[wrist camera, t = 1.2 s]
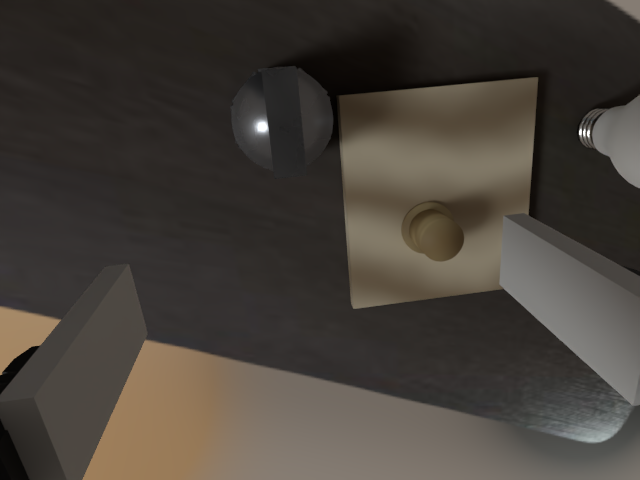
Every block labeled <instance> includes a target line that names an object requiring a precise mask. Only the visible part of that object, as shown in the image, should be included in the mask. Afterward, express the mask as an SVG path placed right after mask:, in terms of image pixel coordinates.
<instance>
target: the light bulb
mask: <svg viewBox="0 0 640 480" xmlns="http://www.w3.org/2000/svg"><path fill="white" fill-rule="evenodd" d="M577 136H578V140H579V141H580V142H581V143H582V144H583V146H584V147H587V148H589V149H594V150H598V151H599V152H601V153H603V154H604V155H607V156H610V158H611V161H612V163H613V164H614V166H615V168H616V169H617V171H618V173H619V174H620V175H621V176H622V177H623V178H624V179H626V180H627V181H628V182H629V183H631V184H632V185H634V186H636V187H638V188H640V95H639V96H637V97H636V98H635V99H633V100H632V101H631V102H630V103H628V104H627V105H626V106H617V107H614V108H595V109H593V110H591V111H589V112H588V113H587V114H586V115H585V116H584V117H583V118H582V119H581V121H580V123H579V125H578V129H577Z"/></svg>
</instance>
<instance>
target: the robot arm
mask: <svg viewBox="0 0 640 480" xmlns="http://www.w3.org/2000/svg"><path fill="white" fill-rule="evenodd" d="M499 285H500V286H502V287H503V288H504V289H505V290H506V291H507V292H508V293H509V294H510V295H512V296H513V297H514V298H515V299H516V300H517V301H518V302H519V303H520V304H521V305H523V306H524V307H525V308H526V309H527V310H528V311H529V312H530V313H531V314H532V315H534V316H535V317H536V318H537V319H538V320H539V321H540V322H541V323H542V324H543V325H545V326H546V327H547V328H548V329H549V330H550V331H551V332H552V333H553V334H555V335H556V336H557V337H558V338H559V339H560V340H561V341H562V342H563V343H564V344H566V345H567V346H568V347H569V348H570V349H571V350H572V351H573V352H574V353H575V354H577V355H578V356H579V357H580V358H581V359H582V360H583V361H584V362H585V363H586V364H588V365H589V366H590V367H591V368H592V369H593V370H594V371H595V372H596V373H598V374H599V375H600V376H601V377H602V378H603V379H604V380H605V381H606V382H607V383H609V384H610V385H611V386H612V387H613V388H614V389H615V390H616V391H617V392H618V393H620V394H621V395H622V396H623V397H624V398H625V399H626V400H627V401H628V402H629V403H631V404H632V405H633V406H635V405H640V272H639V271H637V270H634V269H631V268H628V267H624V266H621V265H618V264H616V263H615V262H613V261H611V260H609V259H607V258H605V257H604V256H602V255H600V254H598V253H596V252H594V251H593V250H591V249H589V248H587V247H585V246H583V245H582V244H580V243H578V242H576V241H574V240H572V239H571V238H569V237H567V236H565V235H563V234H561V233H560V232H558V231H556V230H554V229H552V228H550V227H549V226H547V225H545V224H543V223H541V222H539V221H538V220H536V219H534V218H532V217H530V216H528V215H527V214H525V213H520V214H512V215H505V216H503V231H502V248H501V265H500V281H499ZM147 334H148V333H147V329H146V325H145V322H144V318H143V314H142V311H141V307H140V303H139V299H138V296H137V292H136V288H135V285H134V281H133V277H132V274H131V270H130V266H129V263H128V264H121V265H113V266H105V268H104V269H103V270H102V271H101V272H100V274H99V275H98V276H97V277H96V279H95V280H94V281H93V282H92V283H91V285H90V286H89V287H88V288H87V289H86V291H85V292H84V293H83V294H82V296H81V297H80V298H79V299H78V300H77V302H76V303H75V304H74V305H73V307H72V308H71V309H70V310H69V311H68V313H67V314H66V315H65V316H64V318H63V319H62V320H61V321H60V322H59V324H58V325H57V326H56V327H55V329H54V330H53V331H52V332H51V334H50V335H49V336H48V337H47V338H46V340H45V341H44V342H43V343H42V344H41V346H34V347H31V348H29V349H28V350H27V351H25V352H24V353H22V354H21V355H19V356H18V357H17V358H15V359H14V360H13V361H12V362H11V363H10V364H9V365H8V367H7V368H6V369H5V370H4V371H3V372H2V375H0V480H82V479H83V477H84V474H85V472H86V470H87V468H88V465H89V463H90V461H91V459H92V456H93V454H94V452H95V450H96V448H97V445H98V443H99V441H100V439H101V437H102V434H103V432H104V430H105V427H106V425H107V423H108V421H109V418H110V416H111V414H112V412H113V410H114V408H115V405H116V403H117V401H118V399H119V396H120V394H121V392H122V389H123V387H124V385H125V382H126V381H127V378H128V376H129V374H130V372H131V370H132V367H133V365H134V363H135V361H136V358H137V356H138V354H139V352H140V350H141V347H142V345H143V343H144V341H145V338H146V336H147Z"/></svg>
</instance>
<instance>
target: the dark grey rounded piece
mask: <svg viewBox="0 0 640 480" xmlns="http://www.w3.org/2000/svg"><path fill="white" fill-rule="evenodd" d="M327 93H328V92H327V91H326V90H324V89H323V88H322V87H321V85H320V84H319V83H318V82H317V81H316V80H315V79H314V78H312V77H311V76H310V75H308V74H307V73H305V72H304V71H303V70H302V69H301V68H300V67H299V68H298V69H297V67H295V66H289V67H274V68H266V69H258V73H255V72H253V74H252V75H251V76H250V78H249V79H248V80H247V81H246V83H245V84H244V85H243V86H242V87H241V89H240V90H239V92H238V94H237V95H236V96H235V98H234V99H233V100H232V102H233V103H234V104H233V105H231V106H230V107H231V114H232V127H233V132H234V135H235V141H236V143H238V144H239V146H238V147H239V148H240V149H241V150H242V151H243V152H244V153H245V154H246V155H247V156H248V157H249V158H250V159H251V160H252V161H254V162H255V163H257V164H258V165H260V166H262V167H264V168H265V169H270V170H271V171H273V170H274V178H275V179H277V178H286V177H296V176H305V175H307V169H306V166H307V165H309V164H310V163H311V162H313V161H314V160H315V159H316V158H318V156H319V155H320V154H321V153H322V152H323V150H324V149H325V148H326V146H327V144H328V142H329V140H330V139H331V134H333V132H332V128H333V112H332V107H331V103H330V97H329V96H327Z"/></svg>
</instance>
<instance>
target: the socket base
mask: <svg viewBox="0 0 640 480" xmlns="http://www.w3.org/2000/svg"><path fill="white" fill-rule="evenodd" d="M537 87H538V77H531V78H519V79H508V80H498V81H487V82H477V83H466V84H455V85H445V86H434V87H424V88H413V89H402V90H392V91H381V92H370V93H360V94H349V95H339V96H336V97H337V112H338V126H339V140H340V154H341V168H342V182H343V196H344V210H345V224H346V239H347V253H348V267H349V281H350V295H351V303H352V306H353V308H354V309H356V308H364V307H371V306H379V305H386V304H394V303H401V302H409V301H416V300H424V299H431V298H439V297H446V296H454V295H461V294H469V293H476V292H484V291H491V290H499V289H504V288H503V287H502V286H500V285H499V281H500V265H501V248H502V231H503V216H505V215H512V214H520V213H525V214H527V215H528V214H529V200H530V186H531V172H532V158H533V144H534V129H535V115H536V101H537Z"/></svg>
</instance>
